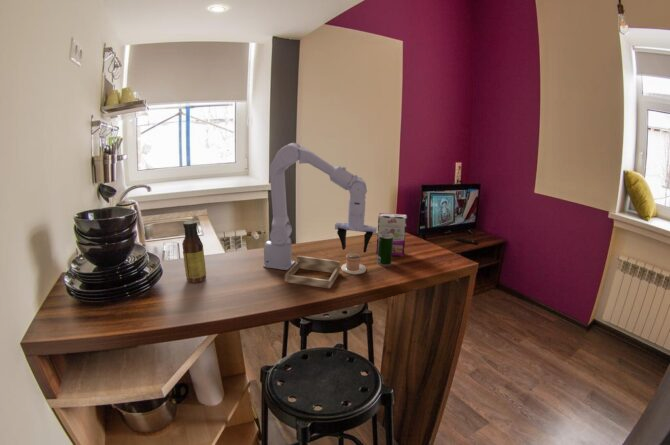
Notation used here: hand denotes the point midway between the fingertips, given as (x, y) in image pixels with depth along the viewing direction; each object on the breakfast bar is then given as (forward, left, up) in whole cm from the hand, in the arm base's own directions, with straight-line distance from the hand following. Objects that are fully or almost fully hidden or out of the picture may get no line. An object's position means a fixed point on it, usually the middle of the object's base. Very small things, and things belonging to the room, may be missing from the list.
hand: (354, 250), depth 132 cm
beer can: (+10, +9, -8) cm, 16 cm away
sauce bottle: (-48, -25, -8) cm, 55 cm away
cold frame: (-12, -11, -7) cm, 18 cm away
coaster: (0, 0, -7) cm, 7 cm away
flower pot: (0, 0, -7) cm, 7 cm away
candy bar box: (+11, +20, -8) cm, 24 cm away
